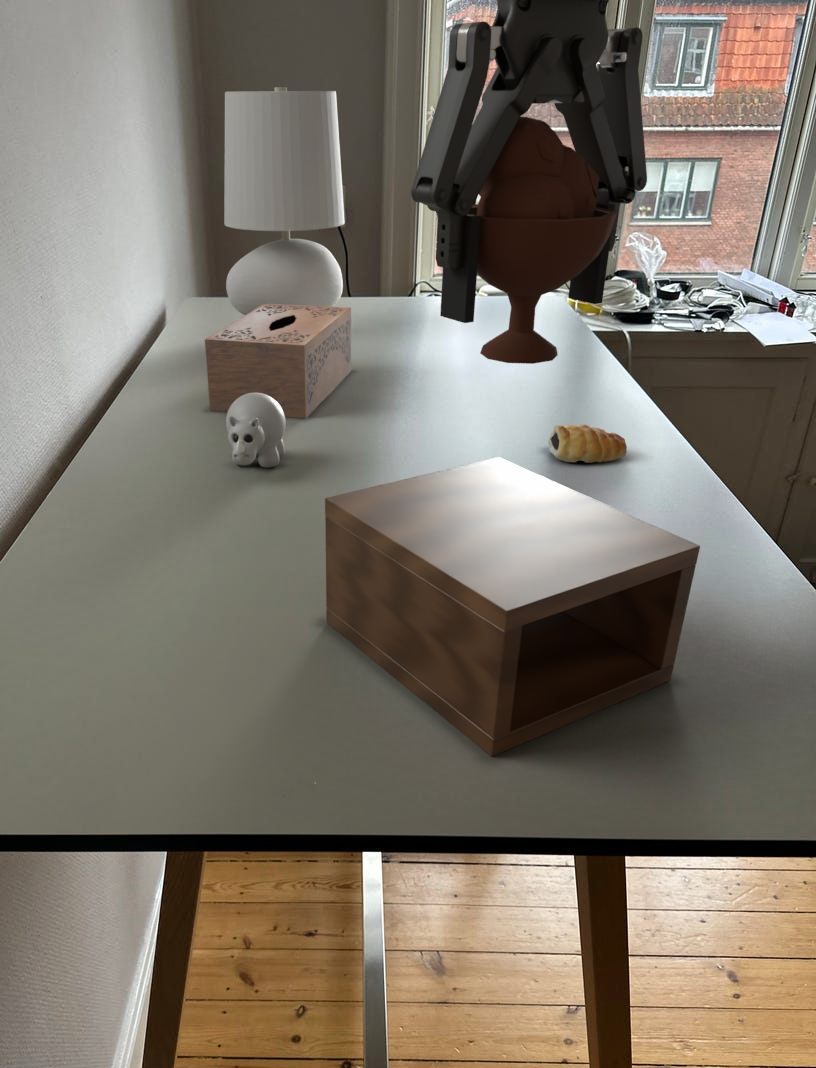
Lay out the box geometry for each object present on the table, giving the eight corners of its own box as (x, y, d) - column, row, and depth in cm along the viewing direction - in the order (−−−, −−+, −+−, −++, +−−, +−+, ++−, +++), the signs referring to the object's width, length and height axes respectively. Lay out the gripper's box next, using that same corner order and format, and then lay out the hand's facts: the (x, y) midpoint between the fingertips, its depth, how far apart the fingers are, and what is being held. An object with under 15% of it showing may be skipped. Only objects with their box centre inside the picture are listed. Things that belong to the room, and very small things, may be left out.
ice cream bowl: (545, 382, 60) (575, 119, 52) (412, 354, 67) (421, 117, 59) (624, 353, 67) (660, 115, 59) (496, 330, 73) (514, 114, 66)
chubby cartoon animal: (209, 484, 107) (203, 413, 103) (237, 450, 117) (233, 383, 113) (269, 488, 106) (266, 416, 102) (292, 453, 116) (290, 386, 112)
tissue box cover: (267, 366, 153) (264, 303, 148) (350, 371, 150) (351, 307, 145) (210, 410, 132) (204, 339, 127) (306, 418, 129) (304, 345, 124)
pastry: (615, 446, 118) (620, 417, 116) (633, 465, 112) (638, 434, 110) (543, 447, 118) (547, 418, 116) (557, 466, 112) (561, 436, 110)
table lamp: (254, 352, 162) (241, 87, 141) (207, 328, 178) (189, 88, 157) (366, 336, 171) (369, 86, 151) (312, 316, 187) (308, 87, 167)
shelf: (671, 680, 71) (700, 545, 65) (491, 757, 63) (507, 611, 57) (487, 572, 87) (498, 456, 81) (326, 622, 79) (324, 497, 73)
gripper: (652, -59, 62) (605, 285, 73) (357, -88, 51) (354, 318, 62) (747, -74, 56) (679, 300, 67) (437, -110, 46) (418, 340, 57)
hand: (523, 309), depth 65 cm, fingers closed on ice cream bowl, 11 cm apart
